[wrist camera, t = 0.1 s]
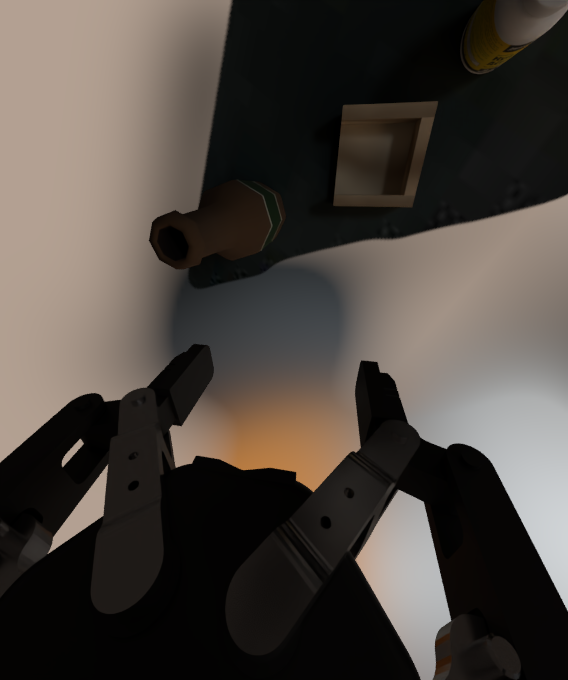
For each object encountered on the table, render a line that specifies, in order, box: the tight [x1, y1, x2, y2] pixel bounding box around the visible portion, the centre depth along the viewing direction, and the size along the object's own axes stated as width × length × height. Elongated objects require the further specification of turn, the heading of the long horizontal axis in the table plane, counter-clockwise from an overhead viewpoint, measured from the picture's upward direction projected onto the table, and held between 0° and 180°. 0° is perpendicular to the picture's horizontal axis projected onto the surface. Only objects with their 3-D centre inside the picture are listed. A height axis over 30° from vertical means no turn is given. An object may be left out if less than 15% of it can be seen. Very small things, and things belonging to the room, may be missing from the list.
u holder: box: [333, 101, 438, 207], centre depth 29 cm, size 9×9×4 cm
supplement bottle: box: [460, 0, 568, 74], centre depth 20 cm, size 5×5×10 cm
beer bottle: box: [149, 180, 286, 269], centre depth 26 cm, size 8×8×24 cm
